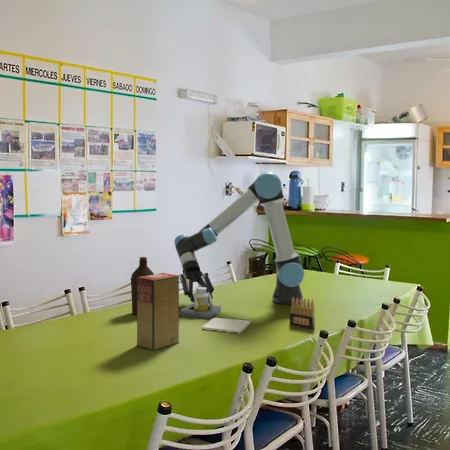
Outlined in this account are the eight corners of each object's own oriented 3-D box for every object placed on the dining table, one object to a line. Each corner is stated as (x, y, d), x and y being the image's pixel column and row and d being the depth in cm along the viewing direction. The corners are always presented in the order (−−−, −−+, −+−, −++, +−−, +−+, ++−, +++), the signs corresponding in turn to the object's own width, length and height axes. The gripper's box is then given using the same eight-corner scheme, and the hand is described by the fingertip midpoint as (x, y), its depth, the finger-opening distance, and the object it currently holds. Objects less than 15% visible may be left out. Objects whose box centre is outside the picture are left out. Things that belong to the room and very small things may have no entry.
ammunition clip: (314, 328, 228) (315, 299, 227) (312, 329, 227) (313, 300, 226) (291, 324, 235) (292, 295, 234) (289, 325, 233) (290, 296, 232)
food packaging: (162, 337, 212) (162, 272, 209) (180, 342, 206) (181, 275, 204) (135, 345, 201) (135, 276, 199) (153, 351, 195) (154, 280, 193)
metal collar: (220, 311, 254) (220, 306, 254) (210, 318, 241) (210, 313, 240) (191, 308, 258) (191, 303, 258) (180, 315, 245) (180, 310, 245)
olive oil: (126, 312, 250) (127, 256, 247) (148, 309, 256) (148, 255, 253) (136, 317, 241) (137, 259, 239) (159, 314, 247) (159, 258, 244)
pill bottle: (193, 312, 252) (193, 286, 251) (207, 311, 253) (208, 286, 252) (193, 315, 246) (194, 289, 245) (208, 315, 246) (209, 289, 245)
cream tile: (250, 323, 234) (250, 321, 234) (240, 333, 219) (240, 331, 219) (214, 319, 239) (214, 317, 239) (201, 329, 224) (201, 327, 224)
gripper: (206, 267, 266) (221, 309, 253) (168, 270, 257) (181, 313, 244) (211, 258, 261) (227, 300, 248) (172, 260, 252) (186, 304, 239)
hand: (204, 306), depth 246 cm, fingers closed on pill bottle, 6 cm apart
